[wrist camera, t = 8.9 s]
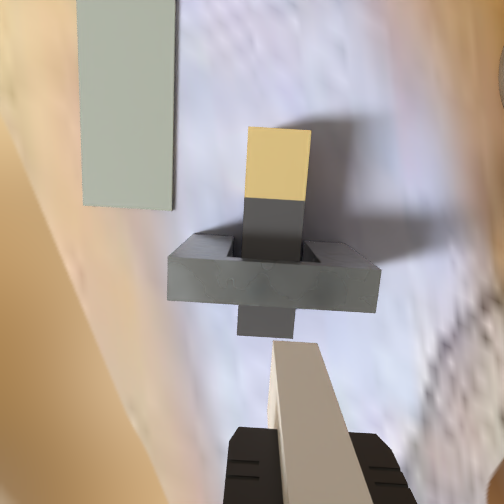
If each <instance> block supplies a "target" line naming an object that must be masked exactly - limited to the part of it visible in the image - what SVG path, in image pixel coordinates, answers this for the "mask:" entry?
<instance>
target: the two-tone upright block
mask: <svg viewBox="0 0 504 504" xmlns="http://www.w3.org/2000/svg"><path fill="white" fill-rule="evenodd" d="M310 140H311V130H296V129H280V128H264V127H248V144H247V162H246V180H245V198H244V216H243V234H242V252H241V258H251V259H267V260H283V261H299V262H300V252H301V241H302V230H303V219H304V208H305V196H306V185H307V174H308V163H309V152H310ZM294 319H295V308H283V307H267V306H250V305H239V306H238V324H237V335H239V336H256V337H273V338H289V339H293V331H294Z"/></svg>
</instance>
